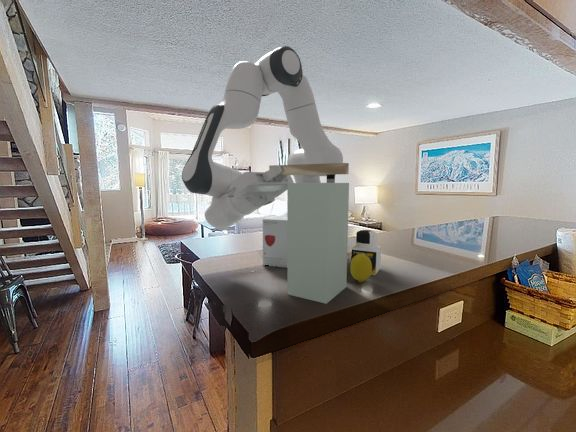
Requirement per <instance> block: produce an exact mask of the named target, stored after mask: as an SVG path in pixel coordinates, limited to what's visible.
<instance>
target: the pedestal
mask: <svg viewBox="0 0 576 432" xmlns="http://www.w3.org/2000/svg"><path fill="white" fill-rule="evenodd" d="M286 191H287V194H286V195H287V198H286V199H287V202H286V204H287V210H286V211H287V212H286V213H287V273H286V274H287V278H286V279H287V289H286V290H287V295H289V296H293V297H297V298H301V299H306V300H310V301H314V302H317V303H322V304H325V305H327V304H328V303H329V302H330V301H332V300H333V299H334V298H335V297H336V296H337V295H338V294H340V293H341V292H343V290H345V289H346V288H347V282H348V281H347V276H348V274H347V273H348V244H349V243H348V242H349V241H348V240H349V239H348V238H349V237H348V235H349V203H350V201H349V200H350V199H349V198H350V183H349V182H335V183H327V182H321V183H296V182H294V183H287V190H286Z"/></svg>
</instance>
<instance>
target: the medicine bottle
mask: <svg viewBox="0 0 576 432" xmlns="http://www.w3.org/2000/svg"><path fill="white" fill-rule="evenodd" d="M355 236H356V239H355V242H356V243H355V244H356V245H355V246H353V247H352V248H351V261H352V258H353V257H354V256H355V255H357V254H360V253H363V254H364V255H366V256H368V257H369V259H370V260H371V263H372V272H371V275H370V276H376V275H377V274H378V272H379V271H380V269H381V257H382V247H381V246H380V245H378V243H379V241H378V238H379V234H378V232H377V231H375V230H370V229H362V230H358V231H356V235H355Z"/></svg>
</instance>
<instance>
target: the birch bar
mask: <svg viewBox="0 0 576 432" xmlns="http://www.w3.org/2000/svg"><path fill="white" fill-rule="evenodd" d="M278 165H279V166H283V169H284V172H283V173H282V174H280V175H290V176H293V175H330V174H336V175H349V169H350V168H349V165H350V164H349V163H348V162H343V163H328V164H299V165H287V164H277V165H275V164H274V165H271V164H270V165H268V166H269V167H268V168H269V169H268V170H271V169H274V168H275V167H276V166H278Z"/></svg>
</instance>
